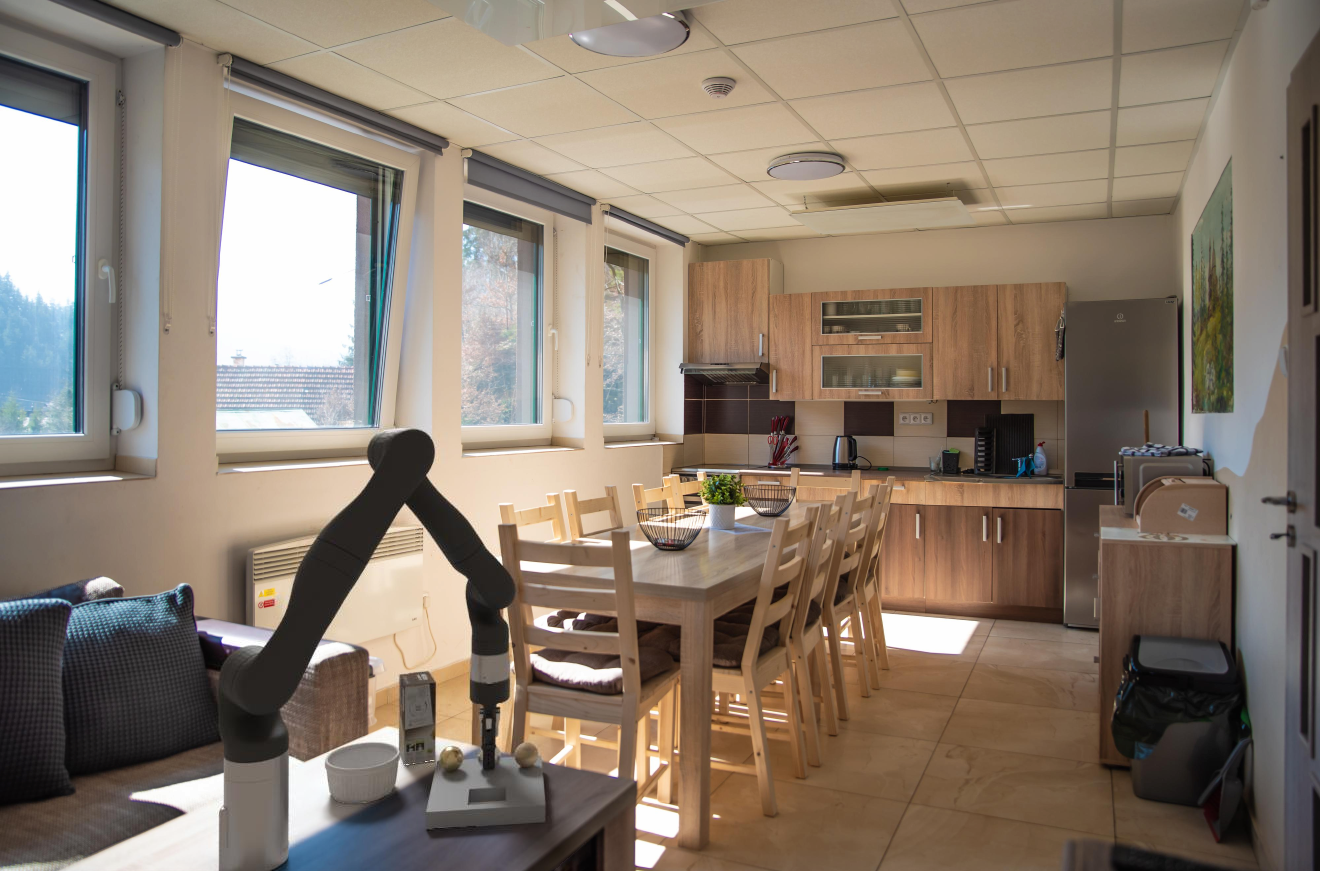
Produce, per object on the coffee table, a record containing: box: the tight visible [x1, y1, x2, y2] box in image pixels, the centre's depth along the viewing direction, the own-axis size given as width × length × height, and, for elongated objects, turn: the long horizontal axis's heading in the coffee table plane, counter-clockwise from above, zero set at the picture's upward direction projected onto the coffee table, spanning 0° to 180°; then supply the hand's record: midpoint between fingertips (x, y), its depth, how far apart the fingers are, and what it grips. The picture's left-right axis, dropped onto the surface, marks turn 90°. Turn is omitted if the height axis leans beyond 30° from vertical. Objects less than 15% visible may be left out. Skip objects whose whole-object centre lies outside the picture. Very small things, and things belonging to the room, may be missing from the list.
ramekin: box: [324, 741, 401, 804], centre depth 161 cm, size 13×13×7 cm
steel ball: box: [476, 745, 502, 768], centre depth 165 cm, size 4×4×4 cm
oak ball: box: [514, 741, 539, 767], centre depth 166 cm, size 4×4×4 cm
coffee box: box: [398, 670, 437, 766], centre depth 178 cm, size 9×6×16 cm
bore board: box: [425, 755, 546, 829], centre depth 159 cm, size 20×22×3 cm
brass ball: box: [438, 745, 465, 771], centre depth 164 cm, size 4×4×4 cm
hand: (489, 760), depth 165 cm, fingers open, 7 cm apart
